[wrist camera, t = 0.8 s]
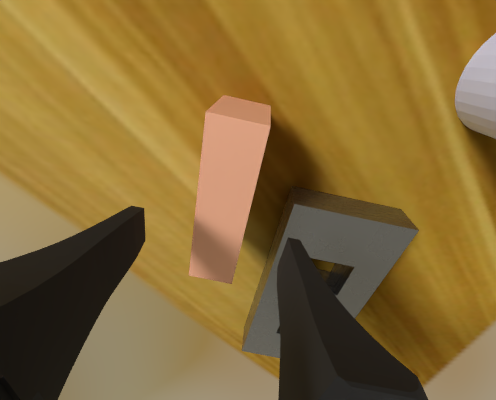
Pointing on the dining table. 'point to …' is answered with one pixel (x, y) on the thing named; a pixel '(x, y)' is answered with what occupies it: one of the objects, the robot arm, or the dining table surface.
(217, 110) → the clip
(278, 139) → the dining table surface
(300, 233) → the rail
